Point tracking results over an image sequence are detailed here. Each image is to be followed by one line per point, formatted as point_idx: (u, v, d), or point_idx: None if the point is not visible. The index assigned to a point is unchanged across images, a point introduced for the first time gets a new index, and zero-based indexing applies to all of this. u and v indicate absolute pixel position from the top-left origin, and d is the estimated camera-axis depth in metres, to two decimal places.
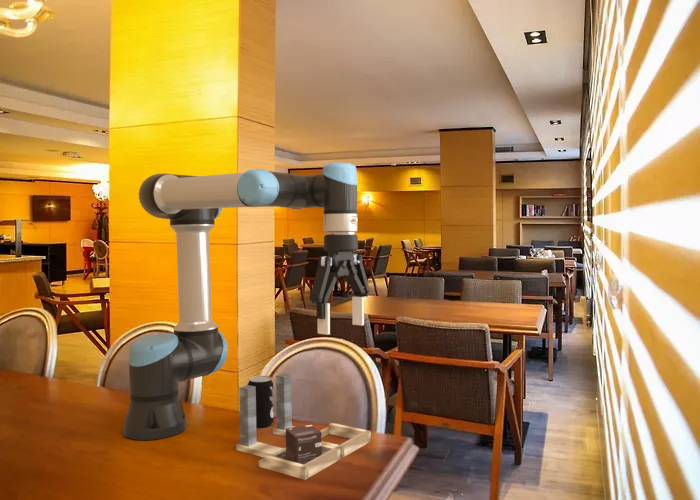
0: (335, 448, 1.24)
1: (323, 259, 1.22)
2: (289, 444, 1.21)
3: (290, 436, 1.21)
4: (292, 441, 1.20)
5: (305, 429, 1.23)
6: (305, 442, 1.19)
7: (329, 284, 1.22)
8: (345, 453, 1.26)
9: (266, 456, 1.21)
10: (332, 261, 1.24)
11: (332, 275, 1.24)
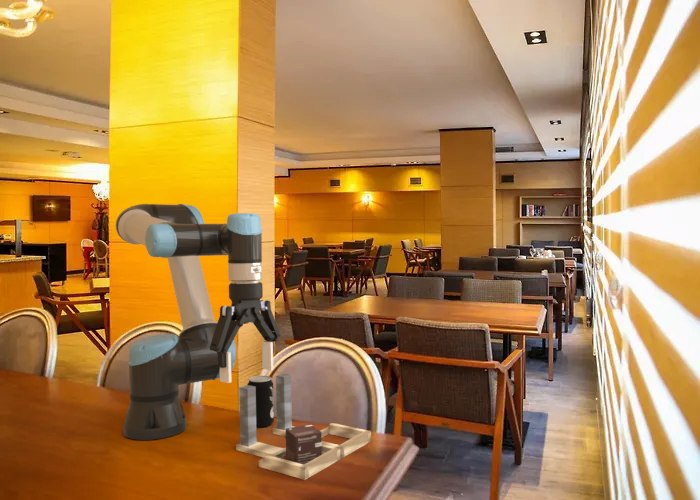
0: (335, 448, 1.24)
1: (224, 308, 1.25)
2: (289, 444, 1.21)
3: (290, 436, 1.21)
4: (292, 441, 1.20)
5: (305, 429, 1.23)
6: (305, 442, 1.19)
7: (231, 333, 1.25)
8: (345, 453, 1.26)
9: (266, 456, 1.21)
10: (234, 310, 1.26)
11: (235, 324, 1.27)
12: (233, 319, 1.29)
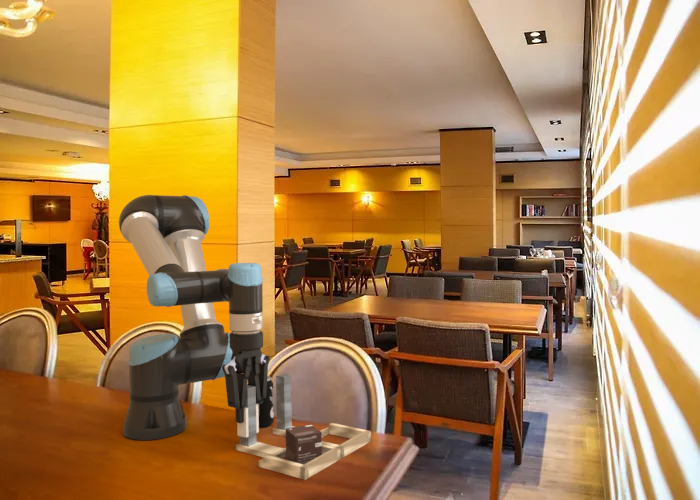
0: (335, 448, 1.24)
1: (226, 369, 1.25)
2: (289, 444, 1.21)
3: (290, 436, 1.21)
4: (292, 441, 1.20)
5: (305, 429, 1.23)
6: (305, 442, 1.19)
7: (241, 389, 1.28)
8: (345, 453, 1.26)
9: (266, 456, 1.21)
10: (236, 363, 1.27)
11: (241, 378, 1.29)
12: (238, 370, 1.30)
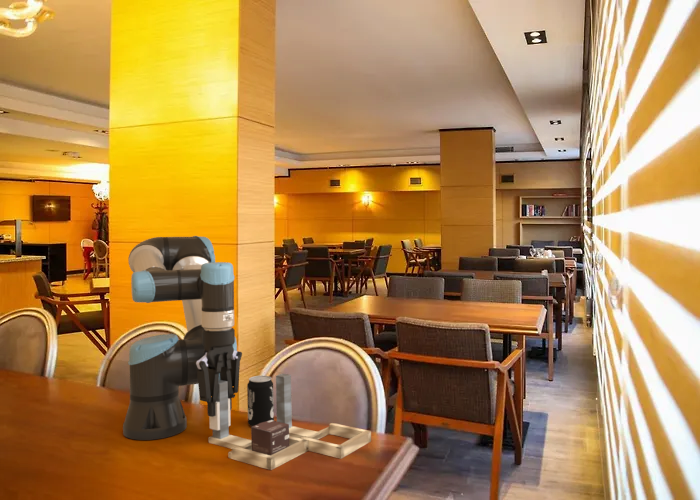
0: (303, 440, 1.29)
1: (198, 364, 1.30)
2: (259, 440, 1.23)
3: (261, 433, 1.23)
4: (264, 437, 1.22)
5: (270, 424, 1.26)
6: (277, 436, 1.23)
7: (213, 383, 1.33)
8: (345, 453, 1.26)
9: (235, 448, 1.25)
10: (208, 359, 1.32)
11: (213, 373, 1.34)
12: None
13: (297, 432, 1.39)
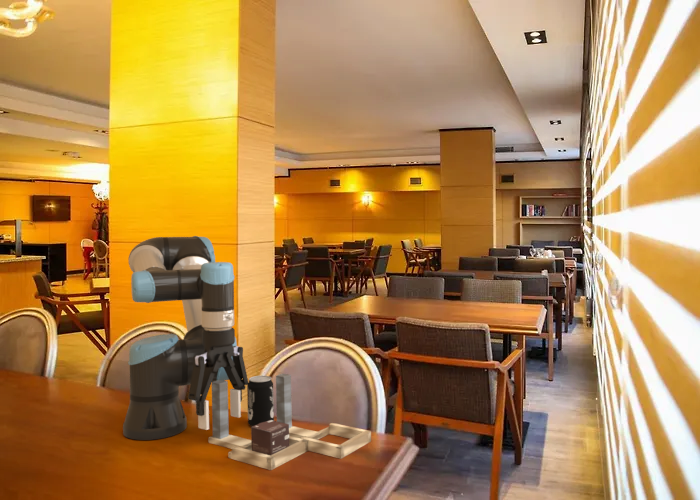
0: (303, 440, 1.29)
1: (196, 359, 1.30)
2: (259, 440, 1.23)
3: (261, 433, 1.23)
4: (264, 437, 1.22)
5: (270, 424, 1.26)
6: (277, 436, 1.23)
7: (206, 381, 1.31)
8: (345, 453, 1.26)
9: (235, 448, 1.26)
10: (207, 357, 1.32)
11: (209, 371, 1.32)
12: (207, 365, 1.34)
13: (297, 432, 1.39)
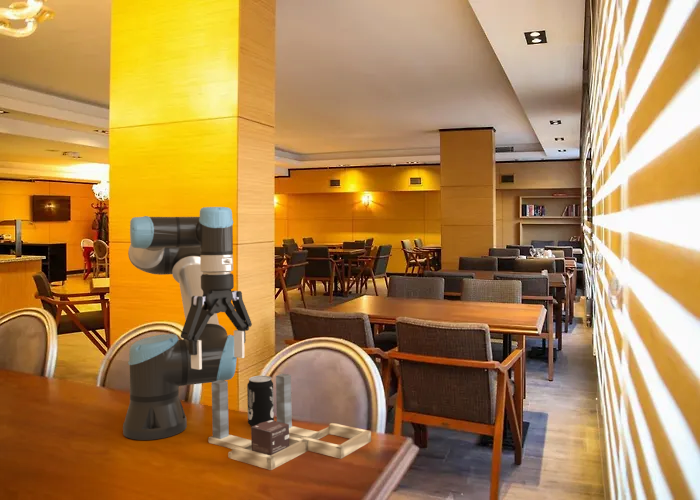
0: (303, 440, 1.29)
1: (195, 298, 1.30)
2: (259, 440, 1.23)
3: (261, 433, 1.23)
4: (264, 437, 1.22)
5: (270, 424, 1.26)
6: (277, 436, 1.23)
7: (201, 322, 1.30)
8: (345, 453, 1.26)
9: (235, 448, 1.26)
10: (205, 300, 1.32)
11: (206, 313, 1.32)
12: (205, 309, 1.34)
13: (297, 432, 1.39)
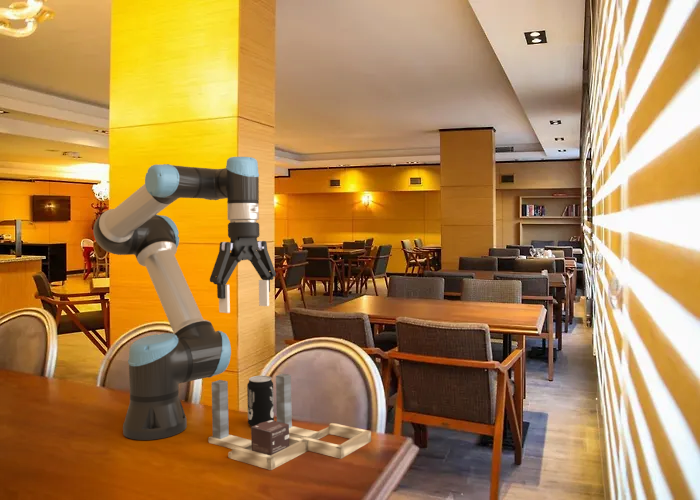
0: (303, 440, 1.29)
1: (223, 244, 1.34)
2: (259, 440, 1.23)
3: (261, 433, 1.23)
4: (264, 437, 1.22)
5: (270, 424, 1.26)
6: (277, 436, 1.23)
7: (229, 267, 1.35)
8: (345, 453, 1.26)
9: (235, 448, 1.26)
10: (233, 246, 1.36)
11: (233, 259, 1.36)
12: (232, 256, 1.38)
13: (297, 432, 1.39)
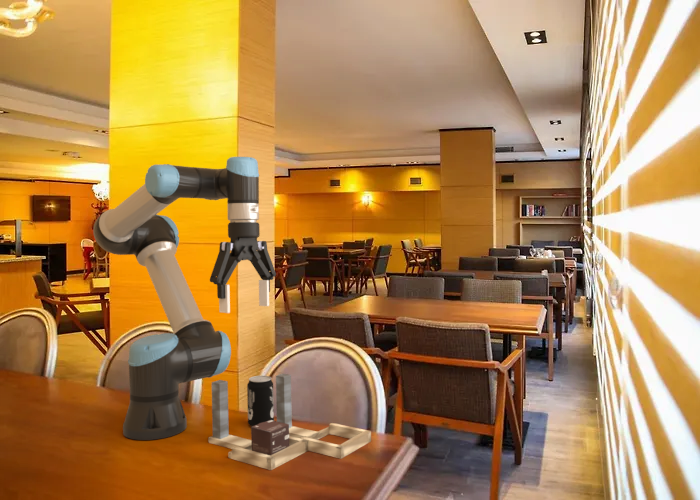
0: (303, 440, 1.29)
1: (223, 244, 1.34)
2: (259, 440, 1.23)
3: (261, 433, 1.23)
4: (264, 437, 1.22)
5: (270, 424, 1.26)
6: (277, 436, 1.23)
7: (229, 267, 1.35)
8: (345, 453, 1.26)
9: (235, 448, 1.26)
10: (233, 246, 1.36)
11: (233, 259, 1.36)
12: (232, 256, 1.38)
13: (297, 432, 1.39)
